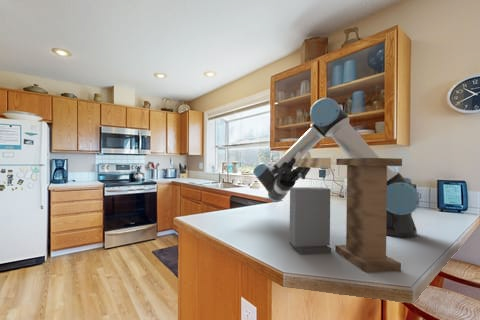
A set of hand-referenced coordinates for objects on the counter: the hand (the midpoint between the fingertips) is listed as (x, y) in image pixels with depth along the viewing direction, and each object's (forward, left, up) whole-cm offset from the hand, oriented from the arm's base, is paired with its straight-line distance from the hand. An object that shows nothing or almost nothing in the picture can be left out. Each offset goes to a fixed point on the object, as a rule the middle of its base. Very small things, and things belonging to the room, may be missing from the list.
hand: (304, 155), depth 83 cm
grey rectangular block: (-1, +4, -31) cm, 32 cm away
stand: (-15, +13, -31) cm, 37 cm away
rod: (-1, +4, -4) cm, 6 cm away
